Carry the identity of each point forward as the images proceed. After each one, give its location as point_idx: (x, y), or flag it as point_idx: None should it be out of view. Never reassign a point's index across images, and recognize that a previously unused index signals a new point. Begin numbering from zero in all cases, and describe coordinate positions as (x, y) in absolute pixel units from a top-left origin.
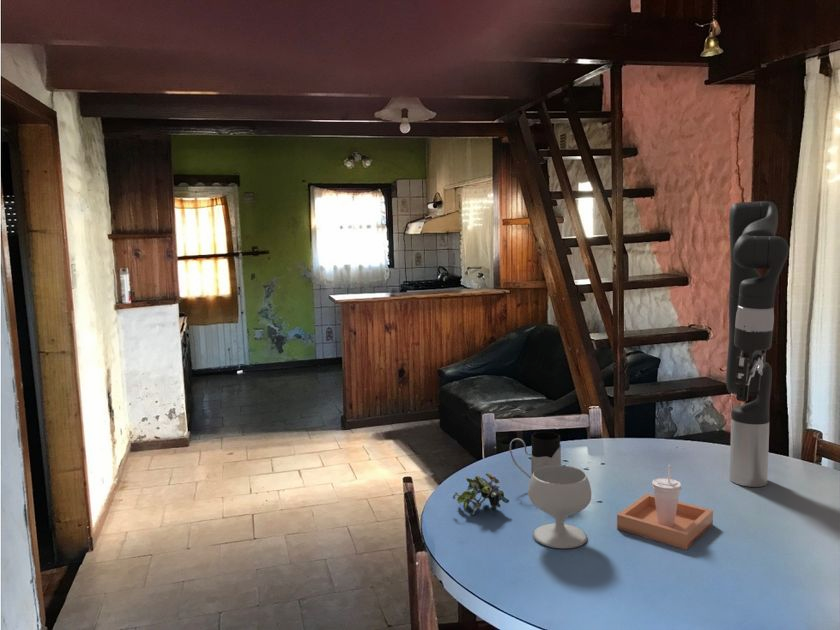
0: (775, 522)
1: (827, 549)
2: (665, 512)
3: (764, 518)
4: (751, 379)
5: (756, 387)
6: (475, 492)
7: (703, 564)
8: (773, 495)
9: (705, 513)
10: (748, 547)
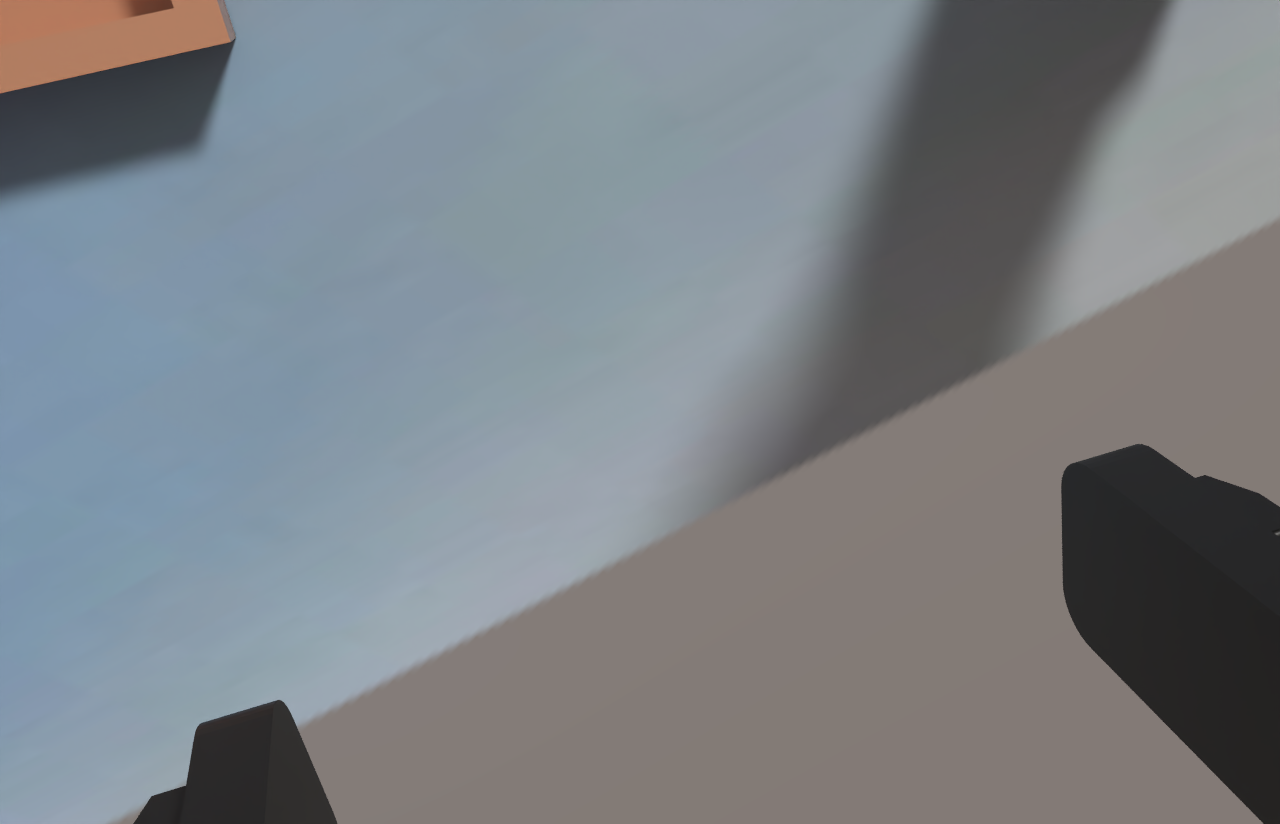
0: (609, 270)
1: (499, 600)
2: None
3: (614, 198)
4: (1255, 648)
5: (1122, 644)
6: None
7: None
8: (996, 38)
9: (121, 38)
10: (140, 371)
